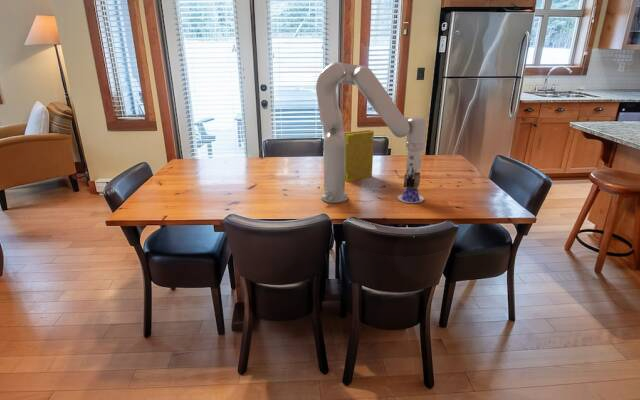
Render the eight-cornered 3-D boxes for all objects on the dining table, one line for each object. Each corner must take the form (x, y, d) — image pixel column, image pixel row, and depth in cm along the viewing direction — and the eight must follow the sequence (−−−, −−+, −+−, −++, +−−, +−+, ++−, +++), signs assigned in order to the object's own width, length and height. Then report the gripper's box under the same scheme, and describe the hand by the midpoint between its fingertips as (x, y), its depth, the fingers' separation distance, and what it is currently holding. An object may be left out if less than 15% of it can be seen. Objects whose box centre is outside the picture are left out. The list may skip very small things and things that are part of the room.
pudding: (394, 202, 170) (395, 191, 168) (400, 193, 180) (401, 183, 178) (421, 206, 166) (422, 195, 164) (425, 196, 176) (426, 186, 174)
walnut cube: (416, 189, 167) (418, 176, 165) (403, 187, 169) (404, 174, 167) (419, 184, 172) (420, 172, 170) (406, 183, 174) (407, 171, 172)
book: (346, 181, 197) (346, 134, 187) (340, 178, 203) (341, 132, 193) (374, 177, 203) (376, 132, 193) (368, 174, 208) (369, 129, 199)
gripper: (419, 151, 155) (416, 191, 162) (426, 142, 169) (423, 180, 176) (402, 149, 158) (399, 189, 164) (410, 141, 172) (407, 178, 179)
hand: (411, 184), depth 170 cm, fingers closed on walnut cube, 5 cm apart
